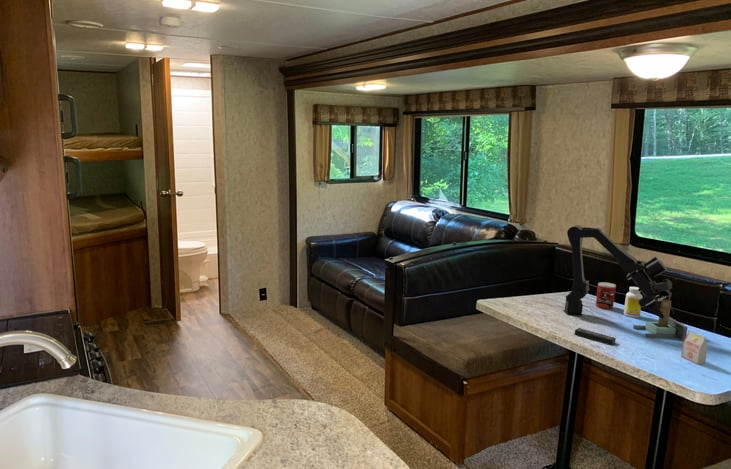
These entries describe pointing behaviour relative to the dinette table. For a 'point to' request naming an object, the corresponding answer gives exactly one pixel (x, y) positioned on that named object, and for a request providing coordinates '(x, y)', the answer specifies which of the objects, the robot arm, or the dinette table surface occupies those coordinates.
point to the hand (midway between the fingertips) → (668, 316)
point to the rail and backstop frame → (680, 334)
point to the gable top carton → (695, 348)
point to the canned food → (605, 295)
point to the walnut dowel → (664, 313)
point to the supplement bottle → (632, 303)
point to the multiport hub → (595, 336)
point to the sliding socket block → (659, 328)
